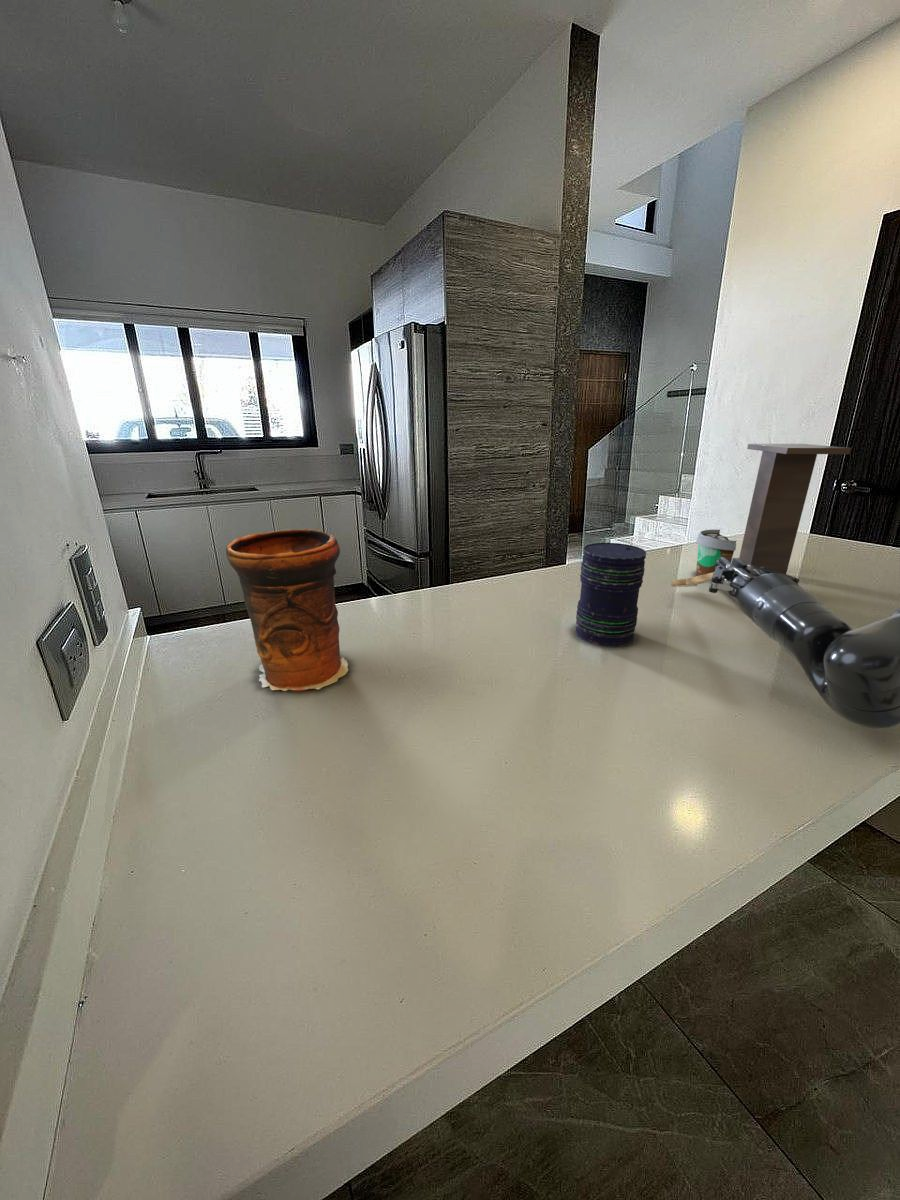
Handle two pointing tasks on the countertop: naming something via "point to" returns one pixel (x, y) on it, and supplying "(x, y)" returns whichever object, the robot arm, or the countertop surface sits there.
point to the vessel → (291, 605)
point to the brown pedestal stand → (779, 502)
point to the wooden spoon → (692, 581)
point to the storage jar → (609, 593)
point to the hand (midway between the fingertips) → (726, 562)
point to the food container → (712, 550)
